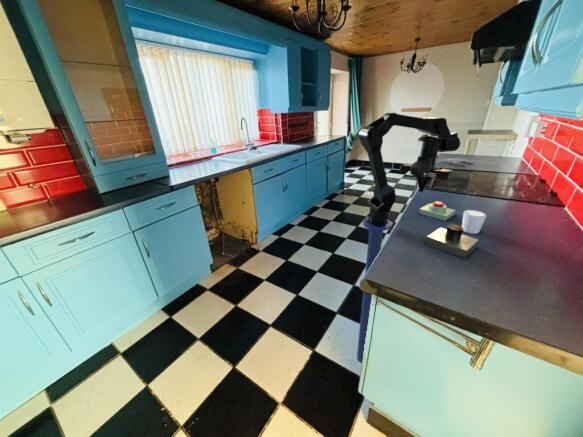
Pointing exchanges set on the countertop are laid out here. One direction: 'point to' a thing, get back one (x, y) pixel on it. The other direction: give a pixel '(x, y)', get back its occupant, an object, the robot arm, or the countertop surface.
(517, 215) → the countertop surface
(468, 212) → the white tapered cup
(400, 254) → the countertop surface
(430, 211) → the pale green button base
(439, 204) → the lock button
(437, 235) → the panel
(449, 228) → the knob
